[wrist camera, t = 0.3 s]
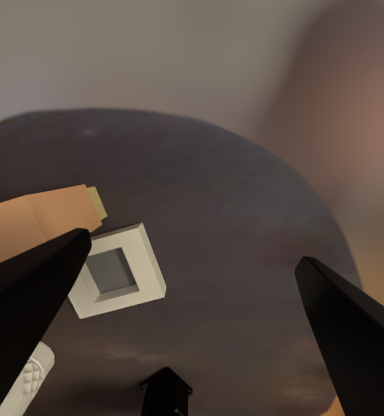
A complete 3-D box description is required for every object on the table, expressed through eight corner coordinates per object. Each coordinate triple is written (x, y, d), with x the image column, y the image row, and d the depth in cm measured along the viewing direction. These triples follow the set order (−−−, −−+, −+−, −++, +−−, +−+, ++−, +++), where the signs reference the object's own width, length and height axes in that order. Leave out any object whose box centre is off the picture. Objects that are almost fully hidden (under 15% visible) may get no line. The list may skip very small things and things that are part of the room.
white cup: (64, 344, 28) (-3, 439, 18) (53, 380, 30) (-14, 484, 20) (12, 328, 27) (-86, 419, 18) (4, 366, 29) (-90, 467, 19)
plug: (111, 218, 23) (54, 256, 14) (77, 228, 24) (-2, 272, 14) (96, 182, 22) (23, 195, 13) (60, 193, 23) (-38, 214, 13)
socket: (166, 287, 26) (164, 297, 24) (88, 307, 27) (80, 318, 25) (142, 222, 24) (137, 227, 22) (57, 246, 24) (45, 254, 22)
